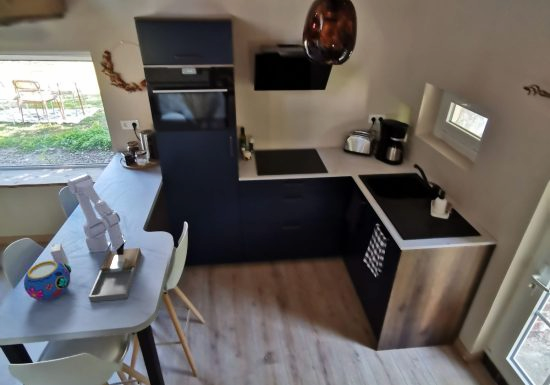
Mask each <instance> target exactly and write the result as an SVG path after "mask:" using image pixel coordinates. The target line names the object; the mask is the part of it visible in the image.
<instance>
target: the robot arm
mask: <svg viewBox="0 0 550 385" xmlns="http://www.w3.org/2000/svg"><path fill="white" fill-rule="evenodd" d="M66 185H67V187H68V189H69V192H70V193H71V194H72V195H75V196H76V198H77V200H78V203H79V205H80V208H81V210H82V213H83V215H84V217H85V219H86V222H85V223H84V224H83V225H82V226H83V232H84V234H85V236H86V238H85V243H86V246H87V249H88V253H102V252H108V251H109V248H111V249H110V250H111V252H112V254H116V253H117V254H118V255H124V249H125V244H126V243H127V239H124V236H125V235H124V233H123V232H122V229H121V226H120V222H121V217H120V215H119V214H118V212H116V211H115V210H114V209H112V208H111V207H110V205H109V204H108V203H107V202H106V201H105V200H102V199H101V198H100V196H99V194H98V193H97V191H96V190H95V187H94V180H93V178H92V176H91V175H90V174H88V173H85V174H82V175H80V176H78V177H75V178H74V177H73V178H71V179H68V180H67V184H66ZM92 203H93V204H92ZM93 205H94V206H93ZM94 209H95V210H94ZM95 211H96V212H97V214H98V215H99V216H100V217H98V216H97V215H96V212H95ZM106 233H108V237H109V240H110V241H108V239H107V237H106V236H107V235H106Z"/></svg>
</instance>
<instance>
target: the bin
mask: <svg viewBox="0 0 550 385" xmlns="http://www.w3.org/2000/svg"><path fill="white" fill-rule="evenodd" d="M136 272H137V270H136V271H135V269H134V268H132V269H127V270H121V271H115V272H111V271H103V272H102V270H101V269H100V270H99V272H98V274H97V278H96V279H95V281H94V284H93V285H92V288H91V290H90V293H89V295H88V299H89V302H90V303H98V302H99V303H100V302H108V301H110V302H111V301H121V300H128V297H129V294H130V291H131V287H132V285H131V284H133V282H132V281H134V279H133V278H135V274H136Z"/></svg>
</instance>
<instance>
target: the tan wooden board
mask: <svg viewBox="0 0 550 385" xmlns="http://www.w3.org/2000/svg"><path fill="white" fill-rule="evenodd" d="M111 250H112V249H110V250H109V249H108V250H107V253H106V256H105V257H104V260H103V262H102V265H101V267H100V270H102V272H103V271H110V267H111V264H112V261H113V259H114V257H115V255H118V254H117V253H116V254H112V252H111ZM141 250H142V249H141V247H136V248H135V247H134V248H124V255H125V256H126V259H125V261H124V265H123V268H122V270H127V269H132V268H134V269H135V271H136V272H137V269H138V266H139V263H138V262H140V260H139V259H141V257H140V256H142V252H141ZM137 265H138V266H137Z"/></svg>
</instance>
